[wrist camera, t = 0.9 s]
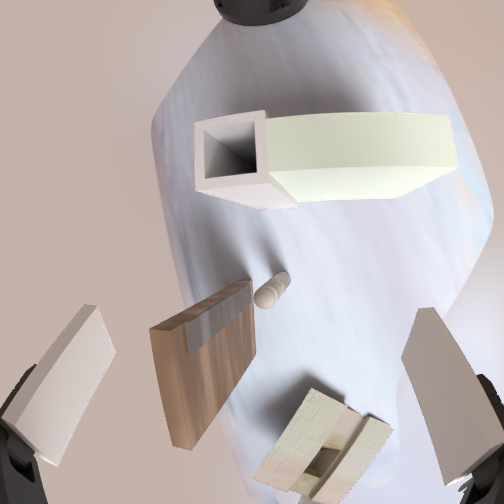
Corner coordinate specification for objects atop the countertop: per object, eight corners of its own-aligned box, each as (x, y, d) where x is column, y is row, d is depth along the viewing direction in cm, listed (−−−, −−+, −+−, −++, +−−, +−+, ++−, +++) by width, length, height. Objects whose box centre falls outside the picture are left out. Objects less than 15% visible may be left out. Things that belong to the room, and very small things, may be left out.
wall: (284, 385, 40) (235, 467, 33) (310, 384, 33) (251, 485, 25) (361, 424, 40) (321, 498, 33) (395, 427, 33) (350, 514, 25)
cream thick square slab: (392, 164, 31) (446, 106, 14) (396, 203, 31) (459, 178, 14) (257, 171, 35) (193, 121, 18) (259, 209, 35) (195, 190, 18)
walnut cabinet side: (290, 271, 35) (243, 319, 16) (292, 355, 36) (253, 462, 16) (239, 272, 37) (147, 314, 17) (244, 353, 37) (172, 445, 18)
